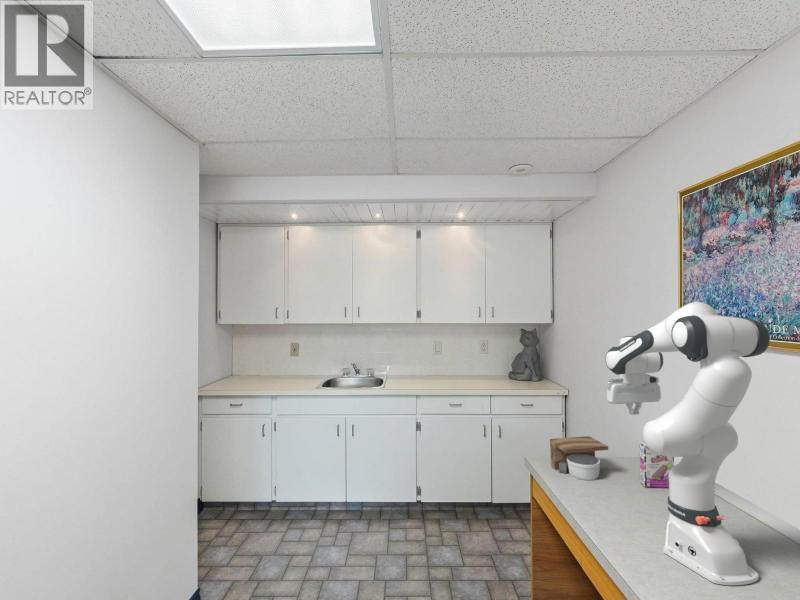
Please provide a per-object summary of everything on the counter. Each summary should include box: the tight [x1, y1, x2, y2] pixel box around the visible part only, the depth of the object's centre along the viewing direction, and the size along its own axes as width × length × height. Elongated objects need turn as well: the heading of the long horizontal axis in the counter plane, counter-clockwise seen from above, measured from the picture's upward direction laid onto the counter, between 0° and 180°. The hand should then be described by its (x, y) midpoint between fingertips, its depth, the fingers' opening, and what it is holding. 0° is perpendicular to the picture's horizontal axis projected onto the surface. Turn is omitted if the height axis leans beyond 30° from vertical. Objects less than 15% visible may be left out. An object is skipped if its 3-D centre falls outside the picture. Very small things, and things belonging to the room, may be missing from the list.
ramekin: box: [567, 454, 601, 481], centre depth 175 cm, size 13×13×7 cm
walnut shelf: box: [549, 435, 609, 475], centre depth 179 cm, size 14×19×12 cm
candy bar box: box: [638, 442, 675, 489], centre depth 163 cm, size 11×5×16 cm, turn 84°
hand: (634, 414), depth 156 cm, fingers closed
